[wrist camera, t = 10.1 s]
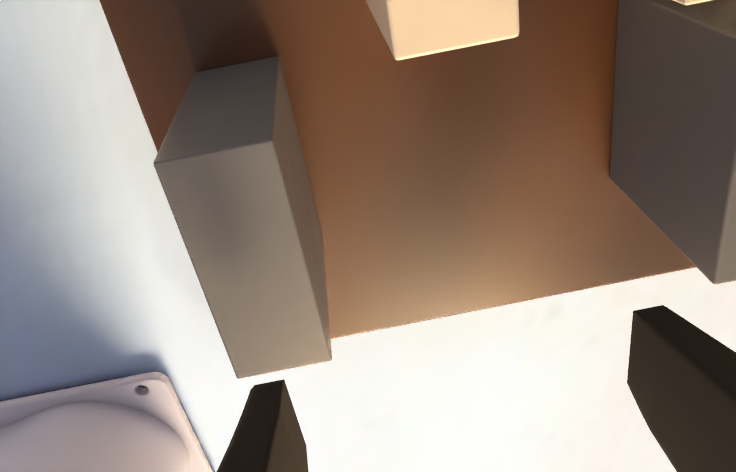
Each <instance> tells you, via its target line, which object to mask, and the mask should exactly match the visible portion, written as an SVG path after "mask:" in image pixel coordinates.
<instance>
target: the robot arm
mask: <svg viewBox="0 0 736 472" xmlns="http://www.w3.org/2000/svg"><path fill="white" fill-rule="evenodd" d="M627 383H628V385H629V388H630V390H631V392H632V394H633V396H634V398H635V400H636V403H637V405H638V407H639V409H640V411H641V413H642V415H643V417H644V419H645V421H646V423H647V425H648V427H649V429H650V430H651V432H652V433H653V435H654V437H655V438H656V440H657V441H658V443H659V444H660V446H661V448H662V449H663V451H664V452H665V454H666V455H667V457H668V458H669V460H670V462H671V463H672V465H673V466H674V468H675V469H676V471H677V472H736V352H734V351H733V350H731V349H729V348H728V347H726V346H725V345H723V344H722V343H720V342H719V341H717V340H716V339H714V338H713V337H711V336H709V335H708V334H706V333H705V332H703V331H702V330H700V329H699V328H697V327H696V326H694V325H693V324H691V323H690V322H688V321H687V320H685V319H684V318H682V317H681V316H679V315H678V314H676V313H674V312H673V311H671V310H670V309H668V308H667V307H665V306H663V305H662V306H657V307H652V308H646V309H641V310H636V311H633V321H632V333H631V344H630V356H629V368H628V380H627ZM138 385H143V386H146V388H142V387H139V386H138ZM0 472H213V471H212V469H211V467H210V465H209V463H208V461H207V458H206V456H205V454H204V452H203V450H202V448H201V446H200V444H199V442H198V439H197V437H196V435H195V433H194V431H193V429H192V427H191V425H190V423H189V421H188V418H187V416H186V414H185V412H184V410H183V408H182V406H181V404H180V402H179V399H178V397H177V395H176V393H175V391H174V389H173V387H172V385H171V383H170V380H169V379H168V377H167V376H166V375H165V374H163V373H160V372H149V373H144V374H139V375H133V376H128V377H123V378H118V379H113V380H108V381H103V382H98V383H93V384H88V385H82V386H77V387H72V388H67V389H62V390H57V391H52V392H47V393H42V394H37V395H31V396H26V397H21V398H16V399H11V400H6V401H1V402H0ZM217 472H308V463H307V451H306V444H305V441H304V438H303V435H302V432H301V429H300V426H299V423H298V420H297V417H296V414H295V411H294V408H293V405H292V402H291V399H290V396H289V393H288V390H287V387H286V384H285V381H284V380H279V381H274V382H269V383H264V384H259V385H254V387H253V388H252V389H251V391H250V393H249V396H248V399H247V402H246V405H245V407H244V410H243V413H242V415H241V418H240V420H239V423H238V425H237V428H236V430H235V432H234V435H233V437H232V439H231V442H230V444H229V447H228V449H227V451H226V453H225V455H224V457H223V460H222V462H221V464H220V466H219V468H218V470H217Z"/></svg>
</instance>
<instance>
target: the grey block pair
mask: <svg viewBox="0 0 736 472" xmlns="http://www.w3.org/2000/svg"><path fill="white" fill-rule="evenodd" d="M154 167H155V169H156V172H157V174H158V177H159V179H160V182H161V184H162V187H163V190H164V192H165V195H166V197H167V200H168V202H169V205H170V207H171V210H172V213H173V215H174V218H175V220H176V223H177V225H178V228H179V230H180V233H181V236H182V238H183V241H184V243H185V246H186V248H187V251H188V254H189V256H190V259H191V261H192V264H193V266H194V269H195V271H196V274H197V277H198V279H199V282H200V284H201V287H202V289H203V292H204V294H205V297H206V300H207V302H208V305H209V307H210V310H211V312H212V315H213V318H214V320H215V323H216V325H217V328H218V330H219V333H220V335H221V338H222V341H223V343H224V346H225V348H226V351H227V353H228V356H229V358H230V361H231V364H232V366H233V369H234V371H235V374H236V376H237V378H238V379H239V378H244V377H250V376H255V375H260V374H265V373H270V372H275V371H280V370H285V369H290V368H295V367H301V366H306V365H311V364H316V363H321V362H326V361H330V360H331V359H332V355H331V341H330V328H329V314H328V301H327V288H326V274H325V261H324V248H323V234H322V230H321V226H320V222H319V218H318V214H317V210H316V206H315V202H314V198H313V193H312V189H311V185H310V181H309V177H308V173H307V169H306V165H305V161H304V157H303V152H302V148H301V144H300V140H299V136H298V132H297V128H296V124H295V120H294V116H293V111H292V107H291V103H290V99H289V95H288V91H287V87H286V83H285V79H284V75H283V70H282V66H281V62H280V58H279V57H278V56H276V57H271V58H266V59H261V60H256V61H251V62H246V63H241V64H236V65H231V66H225V67H220V68H215V69H210V70H205V71H200V72H196V73H195V74H194V76H193V78H192V80H191V82H190V85H189V87H188V89H187V91H186V93H185V95H184V98H183V100H182V102H181V104H180V106H179V109H178V111H177V113H176V115H175V117H174V119H173V122H172V124H171V126H170V128H169V130H168V132H167V135H166V137H165V139H164V141H163V143H162V145H161V148H160V150H159V152H158V154H157V156H156V159H155V161H154ZM610 179H611V180H612V181H613V182H614V183H615V184H616V185H617V186H618V187H619V188H620V189H621V190H622V192H623V193H624V194H625V195H626V196H627V197H628V198H629V199H630V200H631V201H632V202H633V203H634V204H635V205H636V206H637V207H638V208H639V209H640V210H641V211H642V212H643V213H644V214H645V215H646V216H647V217H648V218H649V219H650V220H651V221H652V222H653V223H654V224H655V225H656V226H657V227H658V228H659V229H660V230H661V231H662V232H663V233H664V234H665V235H666V236H667V237H668V238H669V239H670V240H671V241H672V242H673V243H674V244H675V246H676V247H677V248H678V249H679V250H680V251H681V252H682V253H683V254H684V255H685V256H686V257H687V258H688V259H689V260H690V261H691V262H692V263H693V264H694V265H695V266H696V267H697V268H698V269H699V270H700V271H701V272H702V273H703V274H704V275H705V276H706V277H707V278H708V279H709V280H710V281H711V282H712V283H713V284H720V283H725V282H731V281H736V0H711V1H706V2H701V3H696V4H691V5H683V4H681V3H678V2H676V1H673V0H619V3H618V23H617V43H616V62H615V82H614V102H613V122H612V141H611V161H610Z"/></svg>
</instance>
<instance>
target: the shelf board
mask: <svg viewBox="0 0 736 472" xmlns="http://www.w3.org/2000/svg"><path fill="white" fill-rule="evenodd" d="M100 3H101V5H102V8H103V11H104V13H105V16H106V18H107V21H108V24H109V26H110V29H111V32H112V34H113V37H114V39H115V42H116V45H117V47H118V50H119V52H120V55H121V58H122V60H123V63H124V66H125V68H126V71H127V73H128V76H129V79H130V81H131V84H132V86H133V89H134V92H135V94H136V97H137V100H138V102H139V105H140V107H141V110H142V113H143V115H144V118H145V120H146V123H147V126H148V128H149V131H150V134H151V136H152V139H153V141H154V144H155V147H156V149H157V152H159V150H160V148H161V145H162V143H163V141H164V139H165V137H166V135H167V132H168V130H169V128H170V126H171V124H172V122H173V119H174V117H175V115H176V113H177V111H178V109H179V106H180V104H181V102H182V100H183V98H184V95H185V93H186V91H187V89H188V87H189V85H190V82H191V80H192V78H193V76H194V74H195V73H196V72H200V71H205V70H210V69H215V68H220V67H225V66H231V65H236V64H241V63H246V62H251V61H256V60H261V59H266V58H271V57H276V56H278V57H279V58H280V62H281V66H282V70H283V75H284V79H285V83H286V87H287V91H288V95H289V99H290V103H291V107H292V111H293V116H294V120H295V124H296V128H297V132H298V136H299V140H300V144H301V148H302V152H303V157H304V161H305V165H306V169H307V173H308V177H309V181H310V185H311V189H312V193H313V198H314V202H315V206H316V210H317V214H318V218H319V222H320V226H321V230H322V234H323V248H324V261H325V274H326V288H327V301H328V314H329V328H330V339H333V338H338V337H343V336H348V335H353V334H358V333H364V332H369V331H374V330H379V329H384V328H389V327H394V326H399V325H404V324H409V323H415V322H420V321H425V320H430V319H435V318H440V317H445V316H450V315H455V314H460V313H466V312H471V311H476V310H481V309H486V308H491V307H496V306H501V305H506V304H511V303H516V302H522V301H527V300H532V299H537V298H542V297H547V296H552V295H557V294H562V293H567V292H573V291H578V290H583V289H588V288H593V287H598V286H603V285H608V284H613V283H618V282H624V281H629V280H634V279H639V278H644V277H649V276H654V275H659V274H664V273H669V272H674V271H680V270H685V269H690V268H695V267H696V266H695V265H694V264H693V263H692V262H691V261H690V260H689V259H688V258H687V257H686V256H685V255H684V254H683V253H682V252H681V251H680V250H679V249H678V248H677V247H676V246H675V244H674V243H673V242H672V241H671V240H670V239H669V238H668V237H667V236H666V235H665V234H664V233H663V232H662V231H661V230H660V229H659V228H658V227H657V226H656V225H655V224H654V223H653V222H652V221H651V220H650V219H649V218H648V217H647V216H646V215H645V214H644V213H643V212H642V211H641V210H640V209H639V208H638V207H637V206H636V205H635V204H634V203H633V202H632V201H631V200H630V199H629V198H628V197H627V196H626V195H625V194H624V193H623V192H622V190H621V189H620V188H619V187H618V186H617V185H616V184H615V183H614V182H613V181H612V180H611V179H610V161H611V141H612V122H613V102H614V82H615V62H616V43H617V23H618V3H619V0H518V5H519V35H518V36H517V37H515V38H510V39H505V40H500V41H495V42H490V43H485V44H479V45H474V46H469V47H464V48H459V49H454V50H449V51H444V52H439V53H434V54H429V55H424V56H418V57H413V58H408V59H403V60H395V58H394V57H393V54H392V52H391V50H390V48H389V46H388V44H387V42H386V40H385V38H384V36H383V34H382V32H381V30H380V28H379V26H378V24H377V22H376V20H375V18H374V16H373V14H372V12H371V10H370V8H369V6H368V4H367V2H366V0H100Z"/></svg>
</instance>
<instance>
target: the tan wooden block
mask: <svg viewBox="0 0 736 472" xmlns="http://www.w3.org/2000/svg"><path fill="white" fill-rule="evenodd" d="M366 2H367V4H368V6H369V8H370V10H371V12H372V14H373V16H374V18H375V20H376V22H377V24H378V26H379V28H380V30H381V32H382V34H383V36H384V38H385V40H386V42H387V44H388V46H389V48H390V50H391V52H392V54H393V57H394V58H395V60H403V59H408V58H413V57H418V56H424V55H429V54H434V53H439V52H444V51H449V50H454V49H459V48H464V47H469V46H474V45H479V44H485V43H490V42H495V41H500V40H505V39H510V38H515V37H517V36H518V35H519V5H518V0H366Z"/></svg>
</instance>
